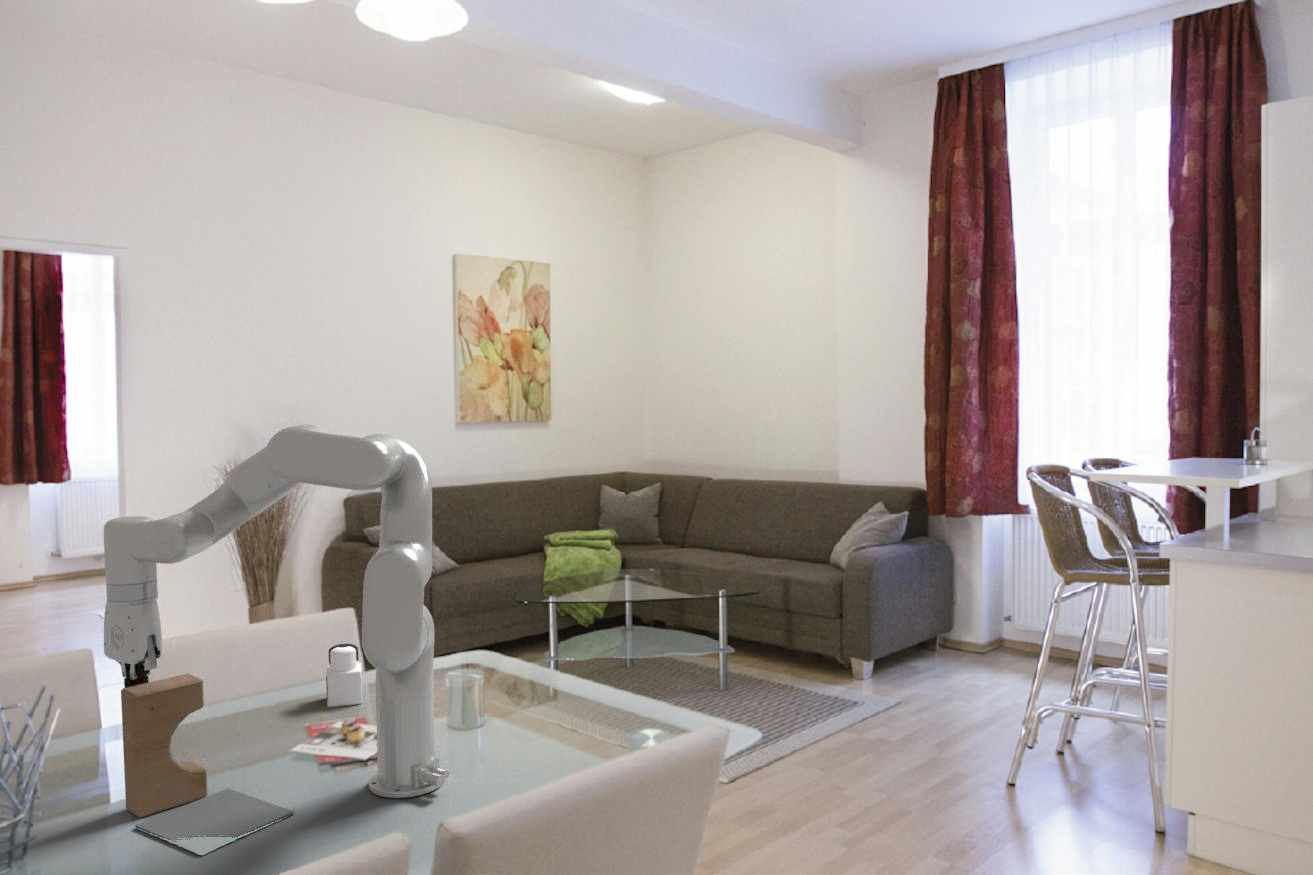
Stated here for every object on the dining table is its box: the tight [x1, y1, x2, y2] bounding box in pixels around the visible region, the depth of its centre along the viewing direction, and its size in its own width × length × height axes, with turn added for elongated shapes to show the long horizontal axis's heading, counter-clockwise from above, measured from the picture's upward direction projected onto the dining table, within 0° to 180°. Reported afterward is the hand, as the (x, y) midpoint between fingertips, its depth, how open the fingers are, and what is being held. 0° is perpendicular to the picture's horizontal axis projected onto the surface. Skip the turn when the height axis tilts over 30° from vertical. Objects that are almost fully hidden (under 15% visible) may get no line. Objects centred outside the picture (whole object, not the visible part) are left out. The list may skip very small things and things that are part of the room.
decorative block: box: [120, 673, 208, 819], centre depth 162 cm, size 11×6×20 cm, turn 137°
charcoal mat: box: [134, 787, 295, 842], centre depth 156 cm, size 17×16×1 cm
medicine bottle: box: [325, 643, 363, 708], centre depth 213 cm, size 7×7×12 cm
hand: (137, 699), depth 166 cm, fingers closed
